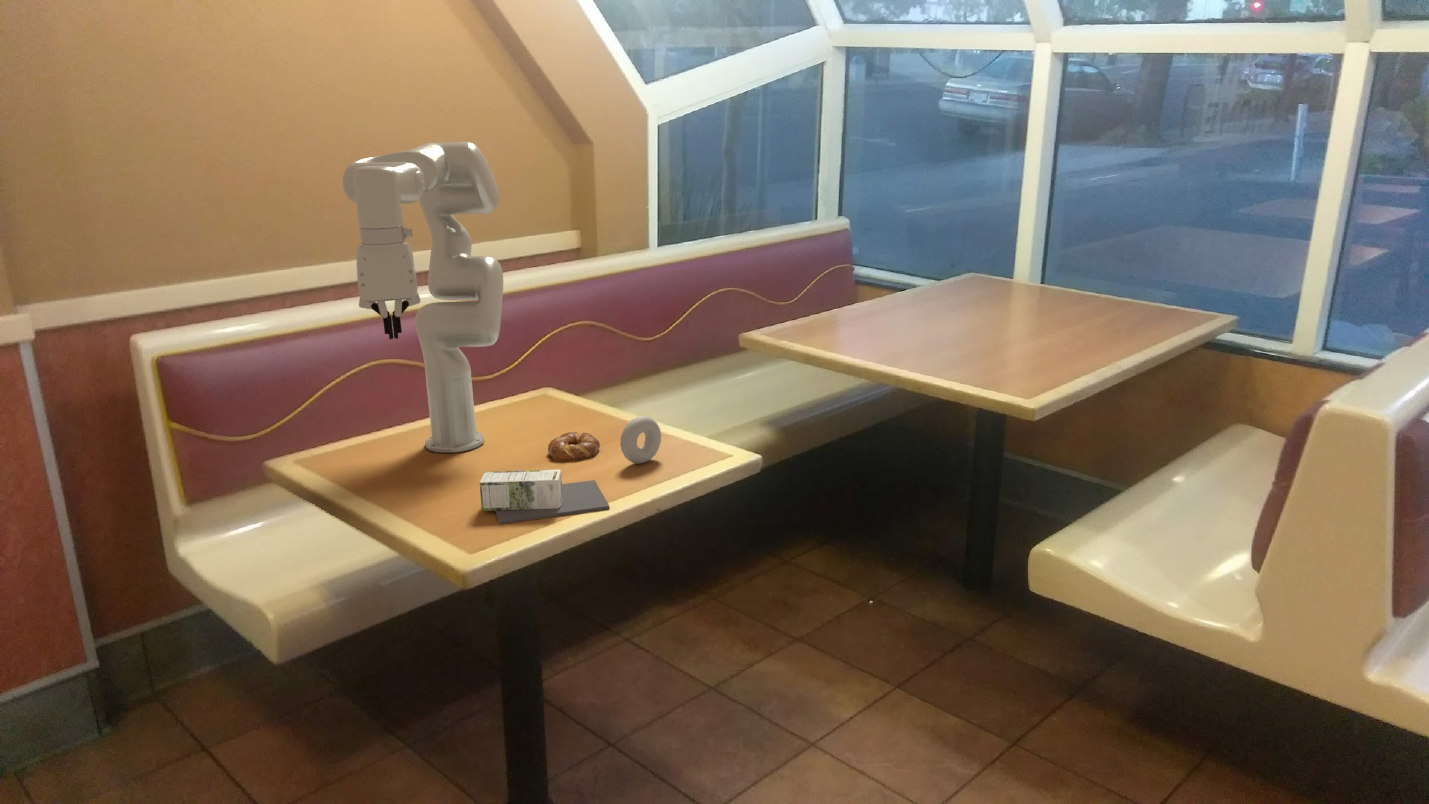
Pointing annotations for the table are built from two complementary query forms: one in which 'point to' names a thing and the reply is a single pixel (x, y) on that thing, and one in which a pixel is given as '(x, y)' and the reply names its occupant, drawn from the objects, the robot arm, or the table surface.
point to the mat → (574, 501)
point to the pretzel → (573, 446)
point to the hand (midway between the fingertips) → (393, 337)
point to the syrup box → (521, 490)
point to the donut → (631, 436)
